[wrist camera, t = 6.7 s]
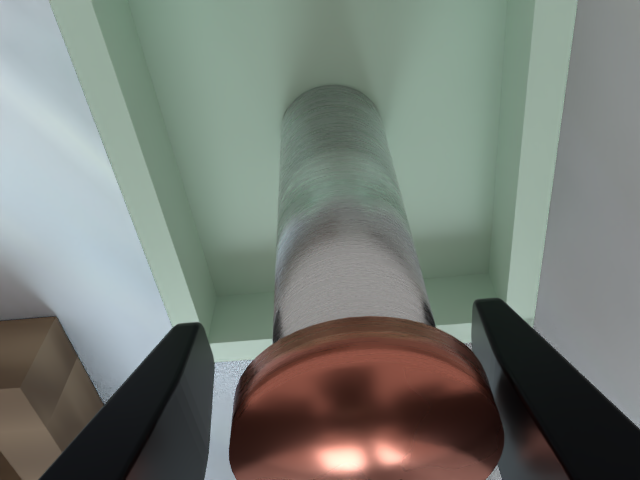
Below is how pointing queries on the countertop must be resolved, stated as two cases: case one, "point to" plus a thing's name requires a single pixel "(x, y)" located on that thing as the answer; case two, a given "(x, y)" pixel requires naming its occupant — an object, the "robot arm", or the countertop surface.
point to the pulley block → (40, 396)
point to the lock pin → (355, 325)
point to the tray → (265, 137)
